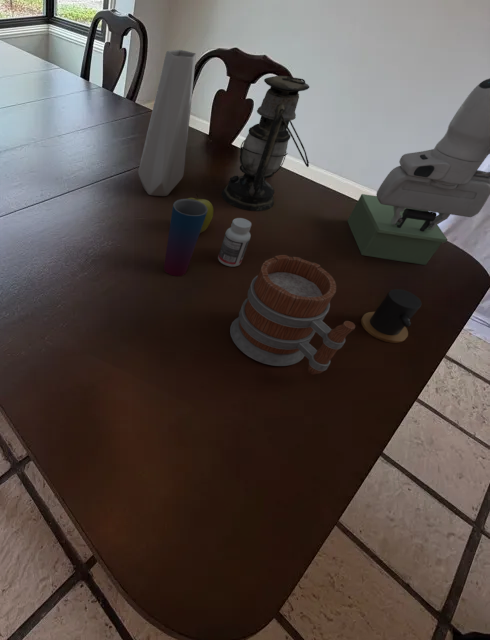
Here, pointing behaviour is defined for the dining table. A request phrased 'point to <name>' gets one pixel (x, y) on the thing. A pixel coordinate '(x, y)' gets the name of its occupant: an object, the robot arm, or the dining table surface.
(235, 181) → the lantern
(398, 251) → the chest
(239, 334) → the mug
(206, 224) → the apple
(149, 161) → the vase
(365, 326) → the coaster
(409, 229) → the lid
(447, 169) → the robot arm
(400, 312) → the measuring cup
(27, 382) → the dining table surface
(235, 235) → the pill bottle
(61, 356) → the dining table surface
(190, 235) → the cup
